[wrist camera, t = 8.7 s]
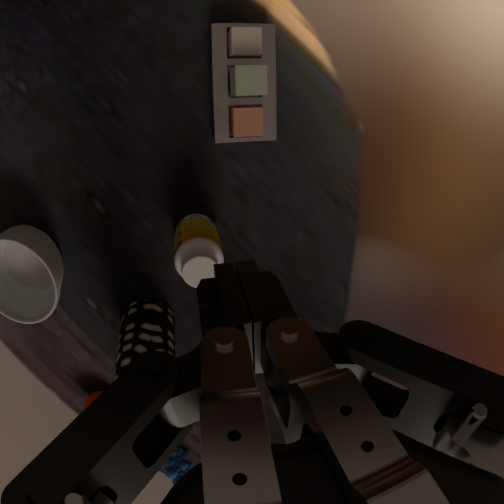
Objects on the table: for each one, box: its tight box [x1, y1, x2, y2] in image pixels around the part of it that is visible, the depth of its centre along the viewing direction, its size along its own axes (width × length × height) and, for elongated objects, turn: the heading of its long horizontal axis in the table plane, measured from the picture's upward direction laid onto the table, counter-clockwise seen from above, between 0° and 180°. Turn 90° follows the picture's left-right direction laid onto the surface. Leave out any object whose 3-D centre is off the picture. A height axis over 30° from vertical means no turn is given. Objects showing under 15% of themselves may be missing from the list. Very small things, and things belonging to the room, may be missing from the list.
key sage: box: [230, 65, 268, 96], centre depth 30 cm, size 3×3×4 cm
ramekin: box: [0, 225, 64, 324], centre depth 36 cm, size 13×13×7 cm
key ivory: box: [227, 27, 262, 58], centre depth 30 cm, size 3×3×4 cm
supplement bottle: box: [174, 214, 224, 288], centre depth 38 cm, size 6×6×10 cm
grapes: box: [164, 446, 193, 484], centre depth 62 cm, size 12×7×12 cm, turn 22°
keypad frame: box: [209, 23, 276, 143], centre depth 33 cm, size 7×14×3 cm, turn 1°
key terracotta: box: [228, 106, 263, 137], centre depth 34 cm, size 3×3×4 cm
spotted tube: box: [113, 300, 176, 381], centre depth 39 cm, size 8×8×20 cm
